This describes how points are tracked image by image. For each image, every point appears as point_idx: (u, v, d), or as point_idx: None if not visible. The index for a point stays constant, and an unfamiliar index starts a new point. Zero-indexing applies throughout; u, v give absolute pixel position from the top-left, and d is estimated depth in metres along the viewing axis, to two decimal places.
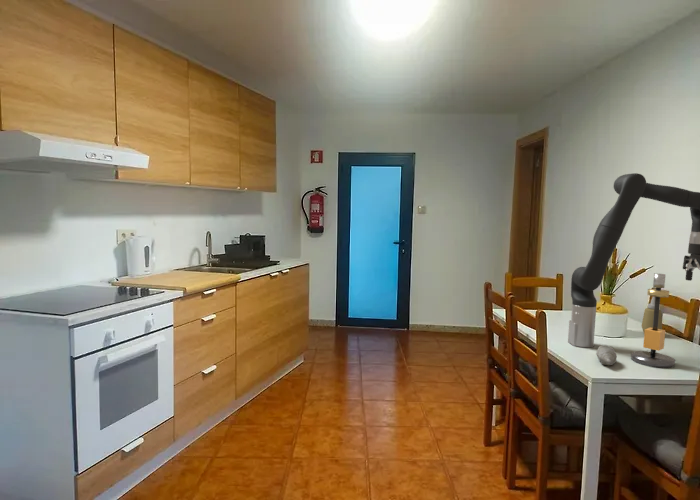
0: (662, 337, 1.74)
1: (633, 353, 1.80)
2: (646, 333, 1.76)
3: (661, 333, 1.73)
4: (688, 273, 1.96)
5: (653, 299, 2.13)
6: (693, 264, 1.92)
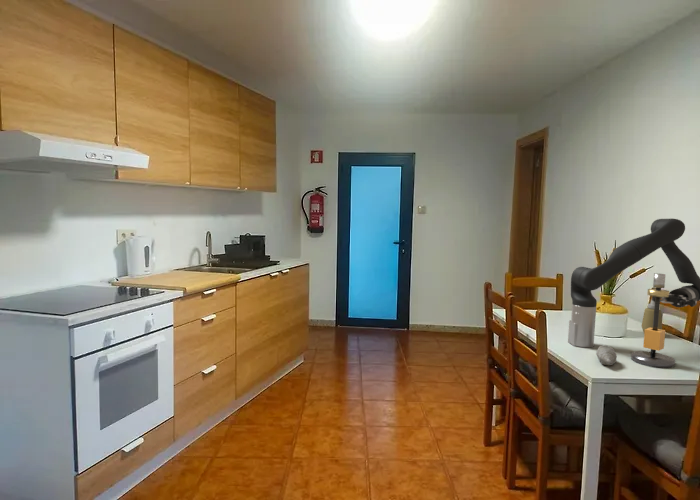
0: (662, 337, 1.74)
1: (633, 353, 1.80)
2: (646, 333, 1.76)
3: (661, 333, 1.73)
4: None
5: None
6: (671, 296, 1.86)
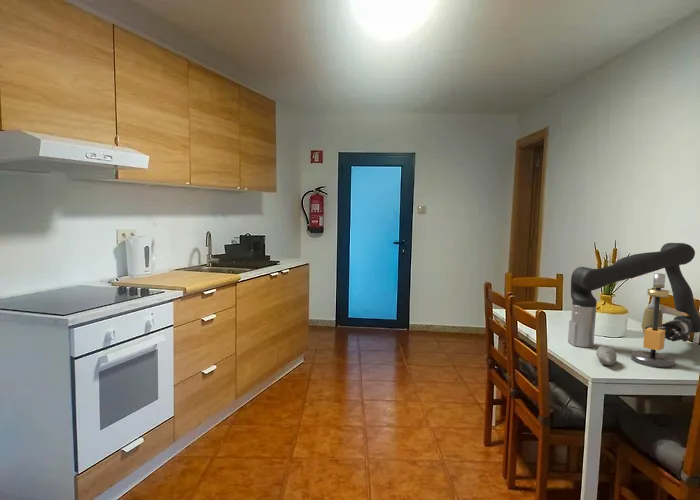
0: (662, 337, 1.74)
1: (633, 353, 1.80)
2: (646, 333, 1.76)
3: (661, 333, 1.73)
4: None
5: (653, 299, 2.13)
6: None
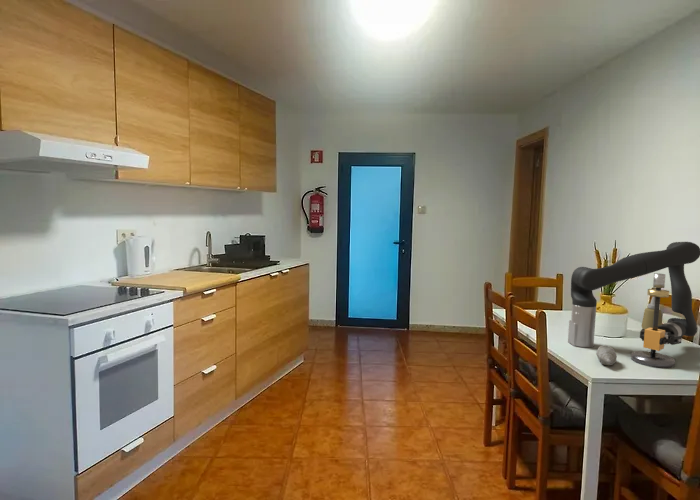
0: (662, 337, 1.74)
1: (633, 353, 1.80)
2: (646, 333, 1.76)
3: (661, 333, 1.73)
4: None
5: (653, 299, 2.13)
6: None
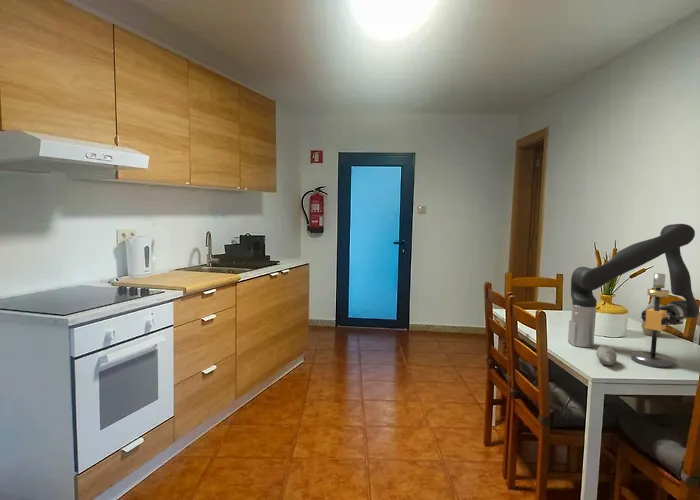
0: (664, 317, 1.73)
1: (633, 353, 1.80)
2: (648, 313, 1.75)
3: (663, 313, 1.72)
4: None
5: (653, 299, 2.13)
6: None
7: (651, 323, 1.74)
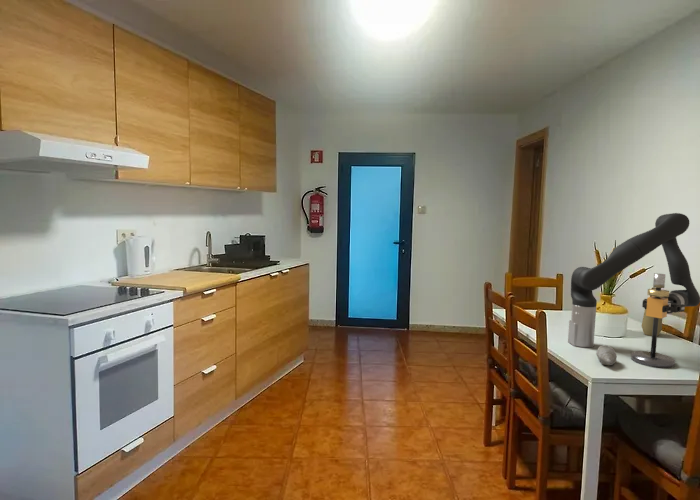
0: None
1: (633, 353, 1.80)
2: (649, 301, 1.74)
3: (664, 301, 1.72)
4: None
5: None
6: None
7: (652, 311, 1.74)
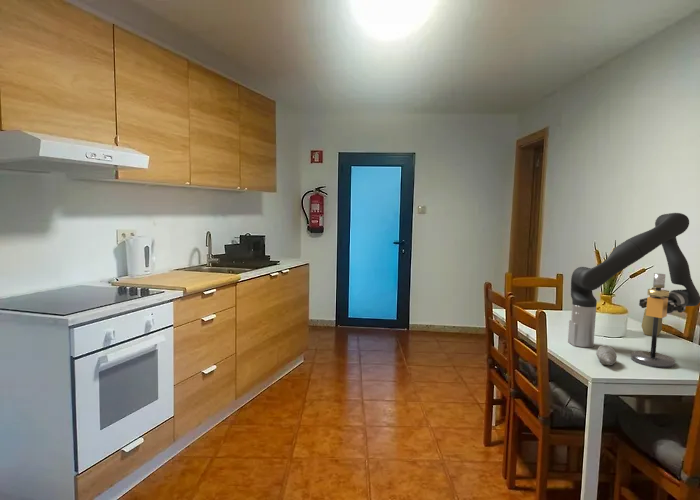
0: (665, 305, 1.73)
1: (633, 353, 1.80)
2: (649, 301, 1.74)
3: (664, 300, 1.72)
4: (646, 302, 1.78)
5: None
6: None
7: (652, 310, 1.74)
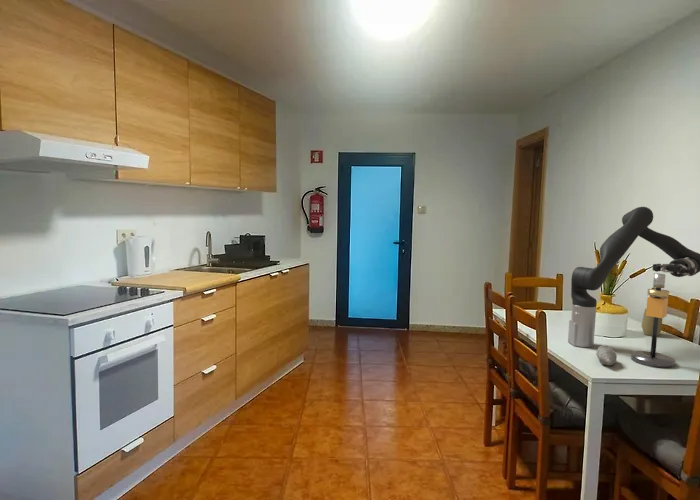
0: (665, 305, 1.73)
1: (633, 353, 1.80)
2: (649, 301, 1.74)
3: (664, 300, 1.72)
4: (659, 267, 1.90)
5: None
6: (672, 266, 1.90)
7: (652, 310, 1.74)
